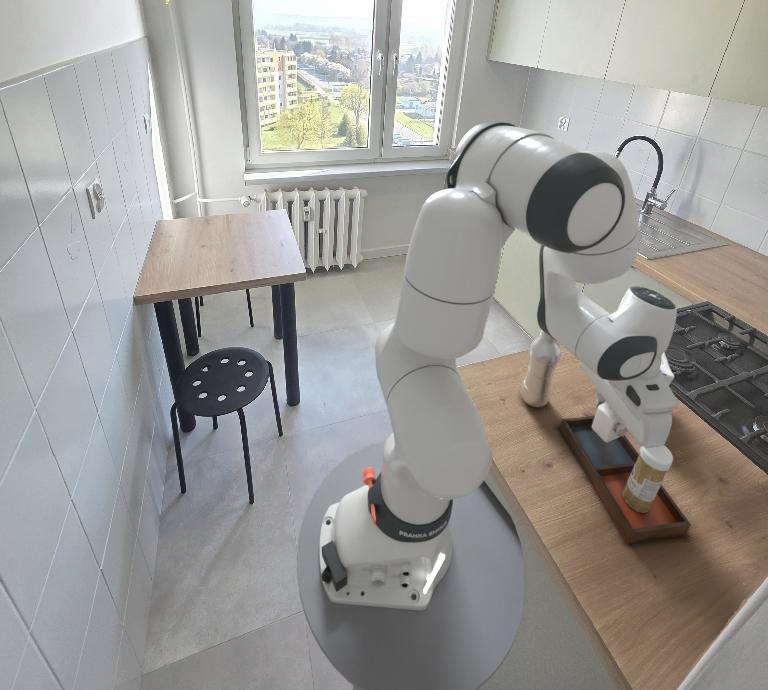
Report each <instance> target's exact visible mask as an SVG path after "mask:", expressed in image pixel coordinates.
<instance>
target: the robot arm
mask: <svg viewBox="0 0 768 690" xmlns="http://www.w3.org/2000/svg"><path fill="white" fill-rule="evenodd" d="M450 163H451V164H450V166H449V168H447V172H446V176H445V177H446V179H445V180H446V187H447V188H445V189H442V190H441V189H440V190H438V191H436V192H434V193H433V194H431V195H429V197H428V198H427V199H426V200H425V201H424V202H423V205H422V206H421V208H420V211H419V214H418V216H417V219H416V222H415V225H414V228H413V231H412V235H411V237H410V241H409V245H408V248H407V254H406V257H405V258H406V259H405V264H404V270H403V277H402V281H401V288H400V294H399V295H400V296H399V301H398V307H397V312H396V317H395V320H394V323H391V324H389V325H388V326H387V327H385V328H384V330H382V331H381V333H379V335H378V337H377V339H376V342H375V345H374V358H375V369H376V370H375V371H376V376H377V377H376V378H377V380H378V383H379V386H380V389H381V393H382V396H383V398H384V403H385V405H386V409H387V413H388V417H389V420H390V424H391V430H392V433H390V434H389V436H388V437H387V438H386V440H385V441H386V442H385V444H384V447H383V454H382V471H381V473H380V474H379V476H378V477H377V479H376V478H375V470H374V468H372V467H367V468H365V469H364V470H363V476H364V484H365V486H363V487H361V488H359V489H357V490H355V491H353V492H351V493H349V494H347V495H345V496H344V497H343V498H342V499H341V501H340V502H339V503H336V504H333V505H331V506H330V507H329V508H328V510H327V512H326V514H325V516H324V519H323V522H322V526H321V532H320V541H319V565H320V573H321V579H322V583H323V586H324V589H325V591H326V594H327V596H328V597H329V599H330V600H331V601H332V602H334V603H340V604H351V605H362V606H373V607H384V608H396V609H407V610H418V611H423V610H425V609H427V607H428V606H429V604H430V601H431V598H432V594H433V591H434V588H435V587H436V585H437V584H438V583H439V582H440V580H441V579H442V578H443V577H444V575H445V574H446V572H447V570H448V568H449V565H450V562H451V558H452V537H451V533H450V530H449V520H450V517H451V512H452V507H453V499H458V498H461V497H464V496H466V495H468V494H470V493H472V492H473V491H474V490H476V489H477V488H478V487H479V486H480V485H481V484H482V482H483V481H485V480H486V478H487V476H488V474H489V472H490V470H491V467H492V463H493V458H494V457H493V451H492V448H491V444H490V441H489V437H488V434H487V430H486V427H485V425H484V421H483V418H482V416H481V413H480V411H479V410H478V408H477V406H476V405H475V403H474V401H473V399H472V397H471V395H470V394H469V391H468V389H467V388H466V386H465V384H464V383H463V380H462V378H461V375H460V374H459V371H458V367H457V360H456V359H458V358H461V357H464V356H465V355H467V354H469V353H471V352H473V351H474V350H475V349H477V348H478V346H480V344H481V342H482V340H483V338H484V334H485V330H486V326H487V322H488V318H489V314H490V310H491V306H492V302H493V298H494V294H495V291H496V290H495V289H496V287H497V280H498V277H499V271H500V264H501V257H502V250H503V247H504V246H505V245H506V242H507V241H508V239H509V238H510V237H511V235H512V234H513V233H514V232H515V231H516V230H517V231H519V232H520V233H522V234H525V235H527V236H529V237H531V238H532V240H534V242H536V243H537V244H538V245H540V248H539V255H538V256H539V257H538V267H539V269H538V270H539V272H538V273H539V301H538V305H537V309H536V319H537V325H538V327H539V328H540V330H541V329H542V330H543V331H544V332H545V333H547V334H548V335H549V336H551V337H552V338H553V339H555V340H557V341H558V344H559V345H561V346H562V347H563V348H565V350H567V351H568V352H569V353H570V354H572V356H574V357H575V358H576V359H577V360H578V361H579V365H580V369H581V370H582V373H584V374H585V376H586V377H587V379H588V380H589V382H591V384H592V385H593V386H594V393H595V399H596V400H595V404H594V406H595V407H596V409H597V408H598V406H599V405H601V404H603V403H605V402H607V403H608V405H609V406H610V407H611V408H612V410H613V411H614V412H615V414H616V415H617V416H618V418H619V419H620V423H619V424H618V423H617V424H615V425H614V428H613V431H614V432H615V433H616V435H617V436H624V435H625V436H626V434H627V431H628V432H629V434H630V435H631V436H632V437H633V439H634V440H635V442H636V443H637V445H639V448H641V447H642V446H644V447H645V448H653V447H661V446H663V445H664V446H665V444H666V442H667V440H668V437H669V435H670V432H671V429H672V428H671V427H672V424H673V415H672V411H674V410H677V408H678V407H679V401H678V399H677V396H676V395H675V394H674V392H673V391H672V389H671V386H670V387H669V386H668V384H667V382H666V380H665V378H664V376H663V374H662V372H661V370H660V366H661V356H662V354H663V353H664V352H666V351H667V350H668V349H669V346H670V343H671V341H672V338H673V335H674V331H675V327H676V323H677V315H678V309H677V306H676V305H675V303H673V301H672V300H671V299H669V298H668V297H666V296H664V295H663V294H661V293H659V292H658V291H656V290H653V289H650V288H648V287H644V286H630V287H628V288H627V290H626V292H625V293H624V295H623V296H622V299H621V301H620V303H619V306H618V308H617V310H616V311H614V312H613V313H610V312H608V311H607V310H605V308H603V307H601V306H600V305H598V304H597V303H595V302H594V301H593V300H591V299H590V298H588V297H587V296H586V295H585V294H583V293H582V292H581V291H580V290H579V288H578V287H577V286H576V284H577V283H578V284H582V285H583V284H584V285H598V284H604V283H607V282H611V281H613V280H615V279H617V278H619V277H621V276H623V275H624V274H625V273H626V272H628V271H629V269H630V268H631V267H632V266H633V265H634V264H635V260H636V259H637V256H638V253H639V248H640V247H639V245H640V235H639V234H640V233H639V216H638V209H637V208H638V207H637V202H636V198H635V192H634V189H633V186H632V182H631V179H630V176H629V173H628V170H627V168H626V166H625V164H624V163H623V162H622V161H621V160H620V159H619V158H618V157H616V156H615V155H613V154H610V153H608V152H605V151H600V150H593V149H591V150H590V149H589V150H578V149H576V148H575V147H573V146H571V145H569V144H566V143H565V142H562V141H560V140H557V139H555V138H554V137H553V136H551V135H549V134H546V133H544V132H540V131H537V130H533V129H528V128H524V127H520V126H517V125H515V124H513V123H509V122H503V121H490V122H489V121H488V122H483V123H480V124H477V125H475V126H474V127H472V128H471V129H469V130H468V131H467V132H466V133H465V135H464V136H463V137H462V138H461V140H460V141H459V143H458V145H457V147H456V148H455V150H454V153H453V156H452V159H451V162H450ZM327 522H330V525H327V524H326V523H327ZM362 594H363V595H364V596H361V595H362ZM412 596H415V597H416V600H412V599H411V597H412Z"/></svg>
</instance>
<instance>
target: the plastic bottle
mask: <svg viewBox="0 0 768 690" xmlns="http://www.w3.org/2000/svg"><path fill="white" fill-rule="evenodd" d="M561 357H562V348H561V346H560V343H559V342H558V341H557V340H555V339H553V338H552V337H551V336H549V335H548V334H547V333H545V332H544V331H543V330H542V329H541V328H540V332H539V336H537V337H536V338H535V339H534V340H532V342H531V344H530V349H529V361H528V362H529V363H528V368H527V371H526V374H525V377H524V378H523V381H522V383H521V386H520V396H521V398H522V399H523V401H524V402H525V404H527V405H528V406H530V407H534V408H542V407H544V406H546V405H547V404H548V403H549V401H550V399H551V394H552V380H553V376H554V373H555V370H556V368H557V365H558V364H559V362H560V360H561Z"/></svg>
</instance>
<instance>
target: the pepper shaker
mask: <svg viewBox="0 0 768 690" xmlns="http://www.w3.org/2000/svg"><path fill="white" fill-rule="evenodd" d="M594 416H595V418H594V421H593V424H592V429H593V430H594V431H595V432H596V433H597V434H598V435H599V436H600V437H601V438H602V439H603V440H604V441H605V442H610V441H612V440H614V439H617V438H619V437H620V436H617V435H616V433H615V432H614V431H613V428H614V425H615V424H617V423H618V424H619V423H620V419H619V418H618V416H617V415H616V414H615V412H614V411H613V410H612V408H611V407H610V406H609V405H608V403H607V402H605V403H603V404H601V405H599V406H598V408H597V407H596V411H595V415H594Z"/></svg>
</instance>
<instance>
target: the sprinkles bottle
mask: <svg viewBox="0 0 768 690" xmlns="http://www.w3.org/2000/svg"><path fill="white" fill-rule="evenodd" d="M638 454H639V457H638V459H637V461H636V463H635V465H634V467H633V470H632V472H631V474H630V476H629V479H628V482H627V484H626V487H625V488H624V489H623V492H622V495H623V499H624V501H625V502H626V504H627V505H628V506H629V507H630V508H632V509H633V510H635V511H637V512H640V513H647V512H648V511H649V510H650V507H651V503H652V501H653V500H654V498H655V496H656V494H657V492H658V490H659V488H660V486H661V485H663V484H662V483H663V481H664V479H665V476H666V474H667V471H668V470H670V468H671V466H672V464H673V462H674V457H673V453H672V452H671V450H670V449H669V448H668V447H667V446H666V445H665V444H664V445H663V446H661V447H653V448H645V447H644V446H642V447H639V453H638Z"/></svg>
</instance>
